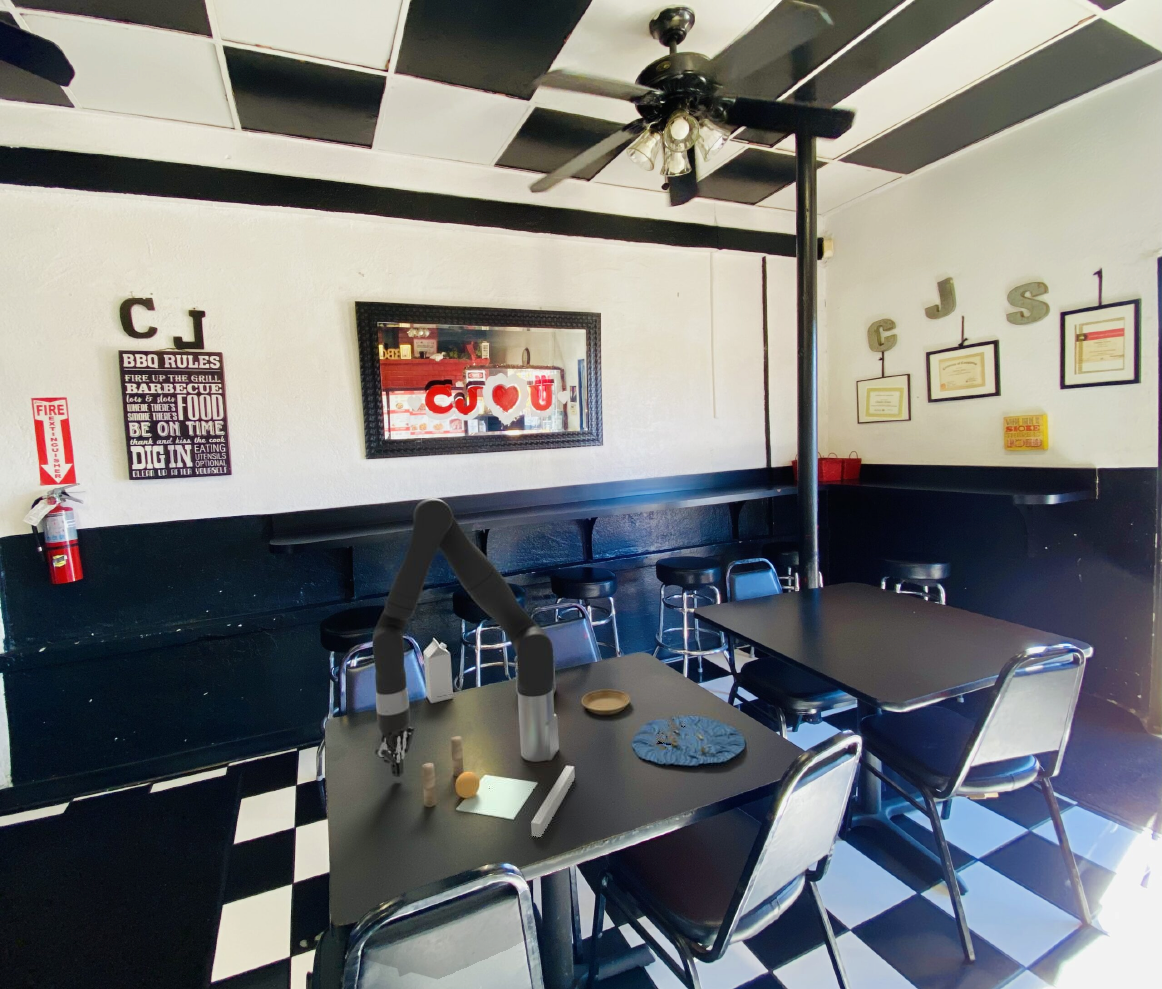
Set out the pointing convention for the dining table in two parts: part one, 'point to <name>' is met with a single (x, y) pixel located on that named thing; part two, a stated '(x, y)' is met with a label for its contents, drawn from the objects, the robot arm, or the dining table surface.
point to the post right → (457, 755)
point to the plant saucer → (605, 701)
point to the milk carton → (438, 672)
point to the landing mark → (498, 797)
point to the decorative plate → (689, 741)
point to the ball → (467, 784)
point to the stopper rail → (552, 802)
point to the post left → (429, 784)
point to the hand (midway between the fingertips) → (398, 774)
